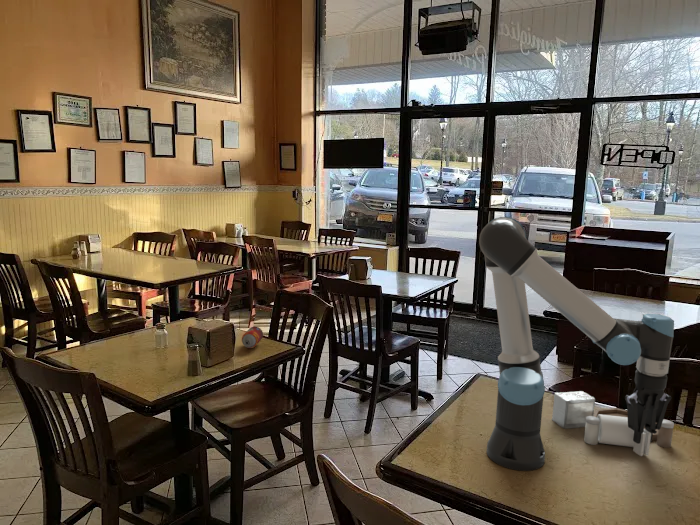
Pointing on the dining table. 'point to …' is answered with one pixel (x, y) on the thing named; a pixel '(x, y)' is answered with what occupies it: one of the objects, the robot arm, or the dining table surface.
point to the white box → (572, 409)
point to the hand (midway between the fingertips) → (640, 453)
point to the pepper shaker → (665, 434)
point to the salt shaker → (592, 430)
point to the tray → (618, 413)
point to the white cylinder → (615, 431)
